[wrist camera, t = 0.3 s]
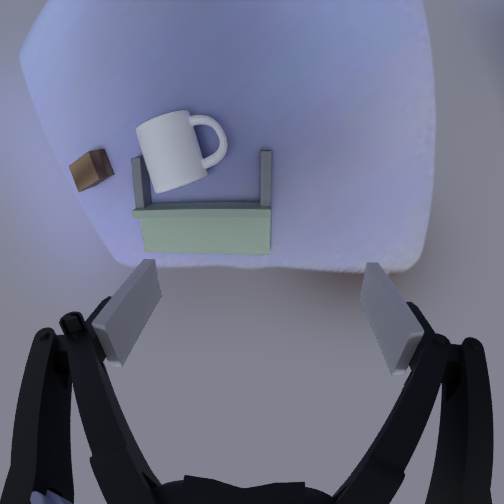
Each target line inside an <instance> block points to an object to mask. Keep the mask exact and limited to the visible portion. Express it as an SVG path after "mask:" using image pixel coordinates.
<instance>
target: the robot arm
mask: <svg viewBox="0 0 504 504" xmlns="http://www.w3.org/2000/svg"><path fill="white" fill-rule="evenodd" d="M161 297H162V295H161V290H160V285H159V280H158V275H157V269H156V263H155V259H144V260H143V261H142V262H141V263H140V264H139V266H138V267H137V268H136V269H135V270H134V271H133V273H132V274H131V275H130V276H129V277H128V278H127V280H126V281H125V282H124V283H123V284H122V286H121V287H120V288H119V289H118V290H117V292H116V293H115V294H114V295H113V296H112V297H110V296H109V297H107V298H106V299H104V300H103V301H102V302H101V303H100V304H99V305H98V307H97V308H96V309H95V310H94V312H93V313H92V314H91V315H90V316H89V318H88V319H87V320H86V321H84V319H83V316H82V314H81V313H80V312H70V313H68V314H65V315H64V316H63V317H62V318H61V319H60V322H59V324H60V326H61V328H62V331H63V333H64V335H56V334H55V332H54V330H53V329H52V328H43V329H41V330H39V331H38V332H37V333H36V335H35V337H34V340H33V343H32V346H31V349H30V353H29V356H28V360H27V363H26V367H25V371H24V375H23V379H22V383H21V388H20V393H19V397H18V403H17V409H16V414H15V422H14V430H13V438H12V450H11V466H10V469H9V472H8V475H7V479H6V482H5V486H4V489H3V492H2V496H1V500H0V504H74V485H73V475H72V463H71V443H70V414H71V413H70V412H71V392H72V383H73V387H74V392H75V397H76V401H77V405H78V409H79V413H80V417H81V420H82V424H83V427H84V431H85V434H86V437H87V440H88V443H89V446H90V449H91V452H92V457H90V463H91V467H92V469H93V472H94V475H95V477H96V479H97V482H98V484H99V487H100V489H101V491H102V493H103V496H104V498H105V500H106V502H107V504H389V503H390V502H391V500H392V498H393V497H394V495H395V494H396V492H397V490H398V489H399V487H400V485H401V484H402V482H403V480H404V477H405V474H404V470H405V468H406V466H407V464H408V462H409V461H410V458H411V456H412V455H413V452H414V451H415V448H416V446H417V444H418V442H419V440H420V437H421V435H422V433H423V431H424V428H425V426H426V423H427V421H428V419H429V416H430V413H431V411H432V408H433V405H434V403H435V400H436V396H437V394H438V391H439V387H440V385H441V383H442V398H441V399H442V400H441V415H440V426H439V435H438V443H437V450H436V457H435V462H434V468H433V473H432V477H431V482H430V486H429V490H428V494H427V498H426V502H425V504H492V499H491V492H490V487H491V477H492V467H493V412H492V399H491V390H490V382H489V375H488V369H487V363H486V358H485V352H484V348H483V346H482V344H481V342H480V341H478V340H477V339H475V338H471V337H468V338H465V340H464V341H463V343H462V345H456V344H451V343H450V341H449V340H448V339H447V338H446V337H445V336H443V335H441V334H435V332H434V330H433V329H432V327H431V326H430V324H429V323H428V321H427V320H426V319H425V317H424V315H423V314H422V312H421V311H420V310H419V308H418V307H417V306H416V305H414V304H413V303H412V302H405V300H404V299H403V297H402V296H401V294H400V293H399V291H398V290H397V289H396V287H395V286H394V284H393V283H392V282H391V280H390V279H389V277H388V276H387V274H386V273H385V272H384V270H383V269H382V268H381V266H380V265H379V263H367V265H366V270H365V275H364V281H363V285H362V290H361V294H360V299H359V300H360V303H361V305H362V307H363V309H364V311H365V314H366V316H367V318H368V320H369V322H370V325H371V327H372V329H373V332H374V334H375V336H376V339H377V341H378V343H379V346H380V348H381V350H382V353H383V355H384V358H385V360H386V363H387V365H388V368H389V370H390V372H391V375H397V374H404V373H405V372H406V369H407V368H408V366H410V368H411V370H412V371H411V373H410V375H409V377H408V378H407V380H406V382H405V384H404V387H403V389H402V392H401V394H400V396H399V398H398V400H397V401H396V403H395V405H394V407H393V409H392V411H391V413H390V414H389V416H388V418H387V420H386V422H385V424H384V425H383V427H382V428H381V430H380V432H379V433H378V435H377V437H376V438H375V440H374V442H373V443H372V445H371V446H370V448H369V449H368V451H367V452H366V454H365V455H364V457H363V458H362V460H361V461H360V462H359V464H358V465H357V467H356V468H355V469H354V471H353V472H352V473H351V475H350V476H349V478H348V479H347V480H346V481H345V482H344V484H343V485H342V486H341V487H340V488H339V489H338V490H337V492H336V493H335V494H334V495H333V496H332V497H331V496H330V495H328V494H326V493H324V492H322V491H319V490H317V489H312V488H308V487H305V482H291V483H290V482H289V483H272V484H267V485H262V486H257V487H250V488H239V487H236V486H233V485H229V484H226V483H223V482H220V481H217V480H213V479H208V478H200V477H194V476H188V475H185V476H184V480H180V481H173V482H169V483H165V484H163V485H161V483H160V482H159V480H158V479H157V478H156V476H155V475H154V474H153V472H152V471H151V469H150V467H149V465H148V464H147V462H146V460H145V458H144V456H143V454H142V452H141V451H140V449H139V447H138V445H137V443H136V441H135V439H134V437H133V435H132V432H131V430H130V428H129V426H128V424H127V422H126V419H125V417H124V415H123V412H122V410H121V408H120V405H119V403H118V400H117V398H116V395H115V393H114V390H113V387H112V385H111V382H110V379H109V376H108V373H107V370H106V367H105V365H104V363H103V361H104V359H105V358H107V360H108V362H109V364H110V365H114V366H118V367H123V365H124V363H125V361H126V359H127V357H128V355H129V354H130V352H131V350H132V348H133V346H134V344H135V343H136V341H137V339H138V337H139V335H140V333H141V332H142V330H143V328H144V326H145V325H146V323H147V321H148V319H149V317H150V316H151V314H152V312H153V311H154V309H155V307H156V305H157V304H158V302H159V300H160V298H161Z"/></svg>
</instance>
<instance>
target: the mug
mask: <svg viewBox="0 0 504 504" xmlns="http://www.w3.org/2000/svg"><path fill="white" fill-rule="evenodd" d="M195 125H208V126H210V127H212V128H213V129H214V130H215V131H216V133H217V135H218V138H219V142H220V144H219V148H218V149H217V151H216V152H215V153H213V154H212V155H210V156H208V157H206V158H203V156H202V153H201V150H200V147H199V143H198V140H197V137H196V133H195V130H194V127H193V126H195ZM136 134H137V137H138V141H139V144H140V147H141V150H142V154H143V157H144V160H145V163H146V166H147V169H148V172H149V175H150V178H151V181H152V184H153V187H154V190H155V193H162V192H166V191H169V190H172V189H175V188H178V187H181V186H184V185H186V184H189V183H192V182H194V181H197V180H199V179H202V178H204V177H206V176H207V175H208V173H207V168H209V167H212V166H214V165H215V164H217V163H218V162H220V161H221V160H222V159H223V158H224V156H225V154H226V152H227V147H228V143H227V138H226V135H225V133H224V130H223V129H222V127H221V126H220V124H219V123H218V122H217V121H216V120H214V119H213V118H211V117H209V116H206V115H193V116H190V113H189V111H187V110H179V111H174V112H170V113H166V114H163V115H160V116H157V117H155V118H152V119H150V120H148V121H146V122H144V123H142V124H141V125H139V126H138V127H137V128H136Z"/></svg>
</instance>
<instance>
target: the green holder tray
mask: <svg viewBox="0 0 504 504" xmlns="http://www.w3.org/2000/svg"><path fill="white" fill-rule="evenodd" d="M271 161H272V151H271V150H261V183H260V202H174V203H151V193H150V181H149V172H148V169H147V166H146V163H145V160H144V157H143V156H140V157H136V158H131V162H132V175H133V186H134V196H135V204H136V209H134V210H133V211H132V214H133V218H140V222H141V229H142V236H143V242H144V249H145V252H157V253H200V254H246V255H270V220H271Z"/></svg>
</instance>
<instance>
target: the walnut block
mask: <svg viewBox="0 0 504 504" xmlns="http://www.w3.org/2000/svg"><path fill="white" fill-rule="evenodd" d="M69 168H70V171H71V173H72V176H73V179H74V181H75V184H76V186H77V189H78V191H79V192H81V191H83V190H86V189H88V188H91V187H94V186H96V185H97V184H99V183H100V182H102V181H104V180H105V179H107V178H109V177H110V176H112V175H114V172H113V169H112V167H111V164H110V162H109V159H108V157H107V154H106V152H105V149H101V150H95V151H89V152H87V153H86V154H84V155H83V156H82V157H80V158H79V159H78V160H76V161H75V162H73V163H72V164H71V165H69Z"/></svg>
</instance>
